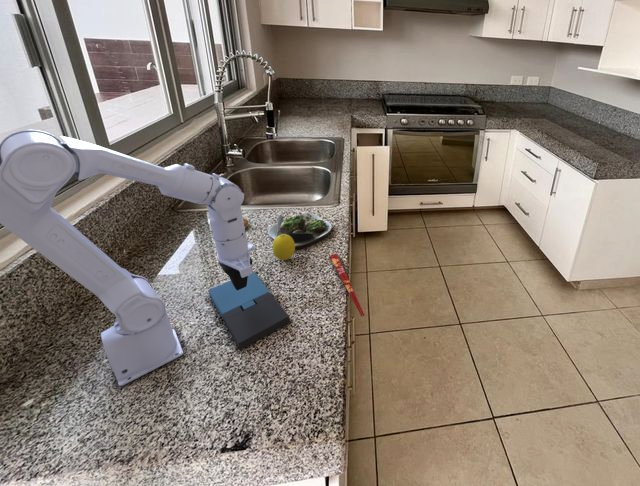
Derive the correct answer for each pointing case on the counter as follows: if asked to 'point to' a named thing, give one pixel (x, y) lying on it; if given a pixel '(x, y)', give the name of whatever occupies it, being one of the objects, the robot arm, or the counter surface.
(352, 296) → the chopstick
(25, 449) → the counter surface
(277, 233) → the salad plate
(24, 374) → the counter surface
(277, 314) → the charcoal pad
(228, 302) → the blue pad
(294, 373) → the counter surface
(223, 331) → the counter surface
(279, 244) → the lemon
